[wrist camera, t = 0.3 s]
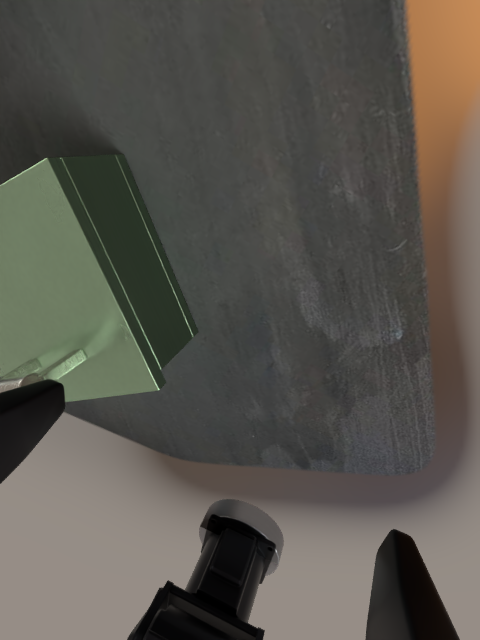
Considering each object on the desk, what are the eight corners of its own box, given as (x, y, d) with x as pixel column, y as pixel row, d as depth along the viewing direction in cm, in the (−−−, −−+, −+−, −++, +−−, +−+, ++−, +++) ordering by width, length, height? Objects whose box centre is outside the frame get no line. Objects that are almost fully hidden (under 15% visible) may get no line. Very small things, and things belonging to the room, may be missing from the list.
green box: (198, 332, 25) (161, 370, 20) (73, 357, 30) (24, 391, 26) (123, 153, 21) (60, 156, 17) (-3, 219, 27) (-73, 233, 23)
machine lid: (166, 382, 21) (107, 447, 16) (29, 401, 26) (-43, 453, 22) (60, 156, 17) (-55, 162, 13) (-74, 233, 22) (-186, 256, 18)
